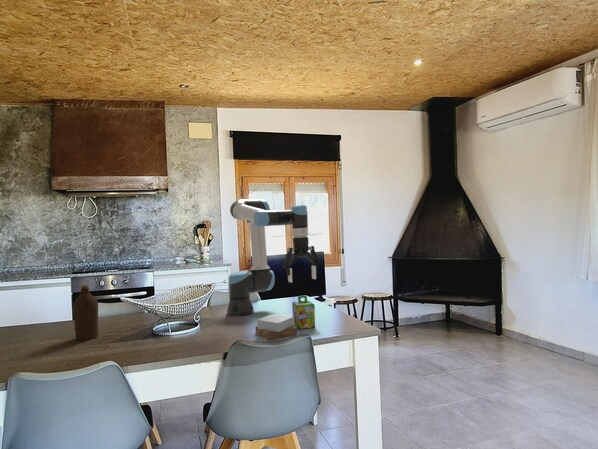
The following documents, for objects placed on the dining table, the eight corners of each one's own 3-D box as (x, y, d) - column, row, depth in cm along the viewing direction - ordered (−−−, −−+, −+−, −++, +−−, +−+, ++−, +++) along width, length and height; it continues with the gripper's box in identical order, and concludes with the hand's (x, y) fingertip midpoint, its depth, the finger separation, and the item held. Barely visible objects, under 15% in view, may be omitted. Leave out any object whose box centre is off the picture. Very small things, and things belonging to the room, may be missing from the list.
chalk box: (297, 329, 190) (296, 298, 189) (292, 325, 198) (291, 295, 198) (316, 327, 192) (314, 297, 192) (310, 323, 201) (308, 293, 201)
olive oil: (104, 335, 193) (102, 283, 192) (85, 342, 183) (82, 287, 183) (89, 333, 197) (86, 283, 197) (69, 340, 188) (66, 286, 187)
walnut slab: (255, 334, 186) (255, 326, 186) (282, 329, 194) (281, 321, 194) (269, 342, 174) (269, 333, 174) (296, 336, 182) (296, 327, 182)
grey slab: (257, 328, 182) (257, 319, 182) (273, 322, 192) (273, 314, 192) (278, 332, 176) (278, 322, 176) (294, 325, 186) (293, 316, 186)
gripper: (281, 238, 185) (283, 284, 185) (326, 235, 198) (327, 278, 198) (274, 238, 191) (276, 282, 191) (317, 235, 204) (319, 276, 204)
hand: (302, 280), depth 195 cm, fingers open, 13 cm apart
